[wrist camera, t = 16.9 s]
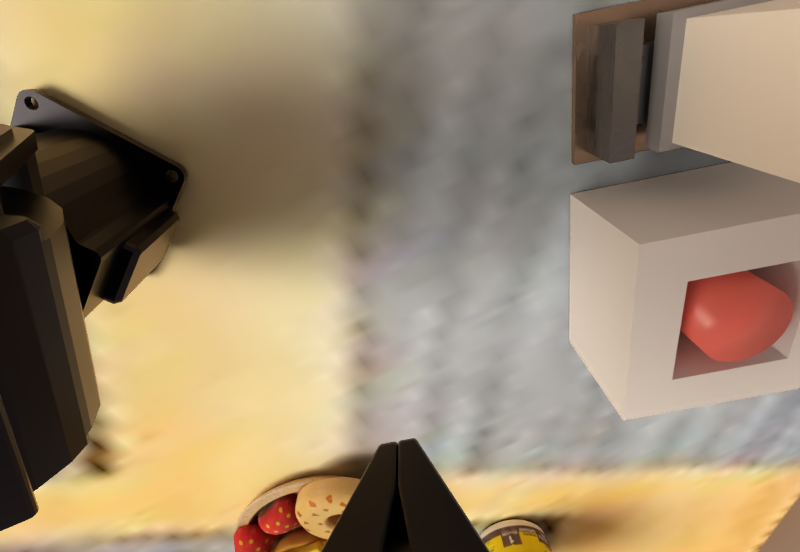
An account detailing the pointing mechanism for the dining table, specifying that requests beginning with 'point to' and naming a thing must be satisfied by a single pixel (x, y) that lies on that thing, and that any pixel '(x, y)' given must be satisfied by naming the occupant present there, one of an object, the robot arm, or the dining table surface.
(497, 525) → the supplement bottle
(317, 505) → the toy food set
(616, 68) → the rail
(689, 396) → the white button housing
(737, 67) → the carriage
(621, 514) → the dining table surface
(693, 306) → the button
